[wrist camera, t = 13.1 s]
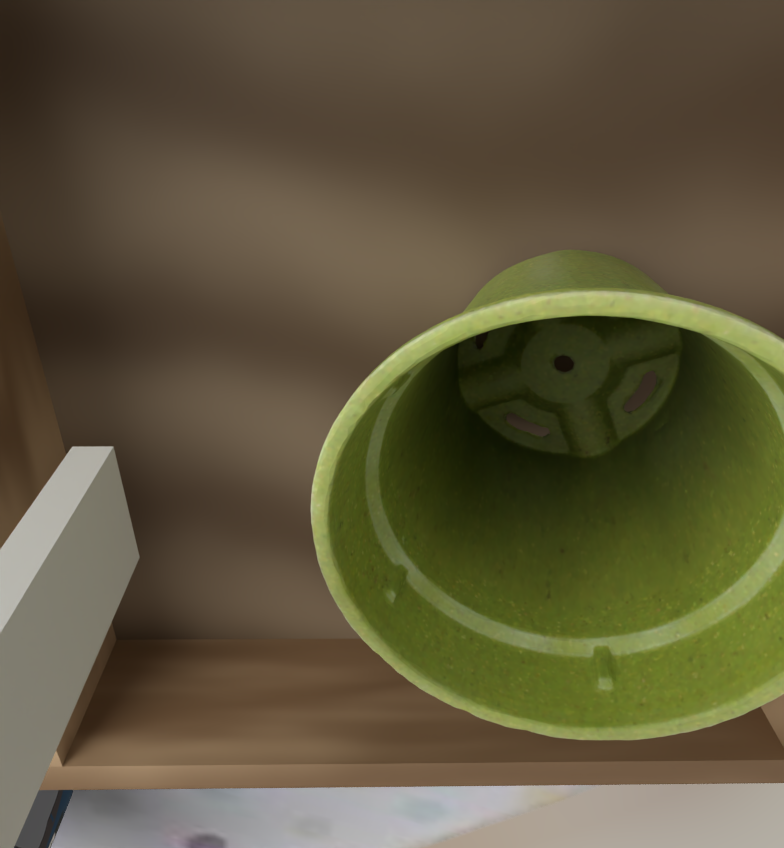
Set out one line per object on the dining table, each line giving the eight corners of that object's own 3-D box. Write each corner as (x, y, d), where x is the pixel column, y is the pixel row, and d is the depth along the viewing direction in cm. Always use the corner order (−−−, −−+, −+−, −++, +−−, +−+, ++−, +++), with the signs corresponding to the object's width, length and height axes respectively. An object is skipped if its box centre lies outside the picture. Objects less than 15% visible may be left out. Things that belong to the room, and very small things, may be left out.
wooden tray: (-147, -211, 14) (-455, -351, 9) (1039, -186, 15) (1405, -304, 9) (99, 641, 27) (32, 790, 21) (732, 638, 27) (815, 782, 22)
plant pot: (834, 262, 16) (1063, 444, 9) (641, 539, 21) (686, 804, 14) (471, 123, 17) (402, 191, 9) (363, 430, 22) (262, 634, 14)
